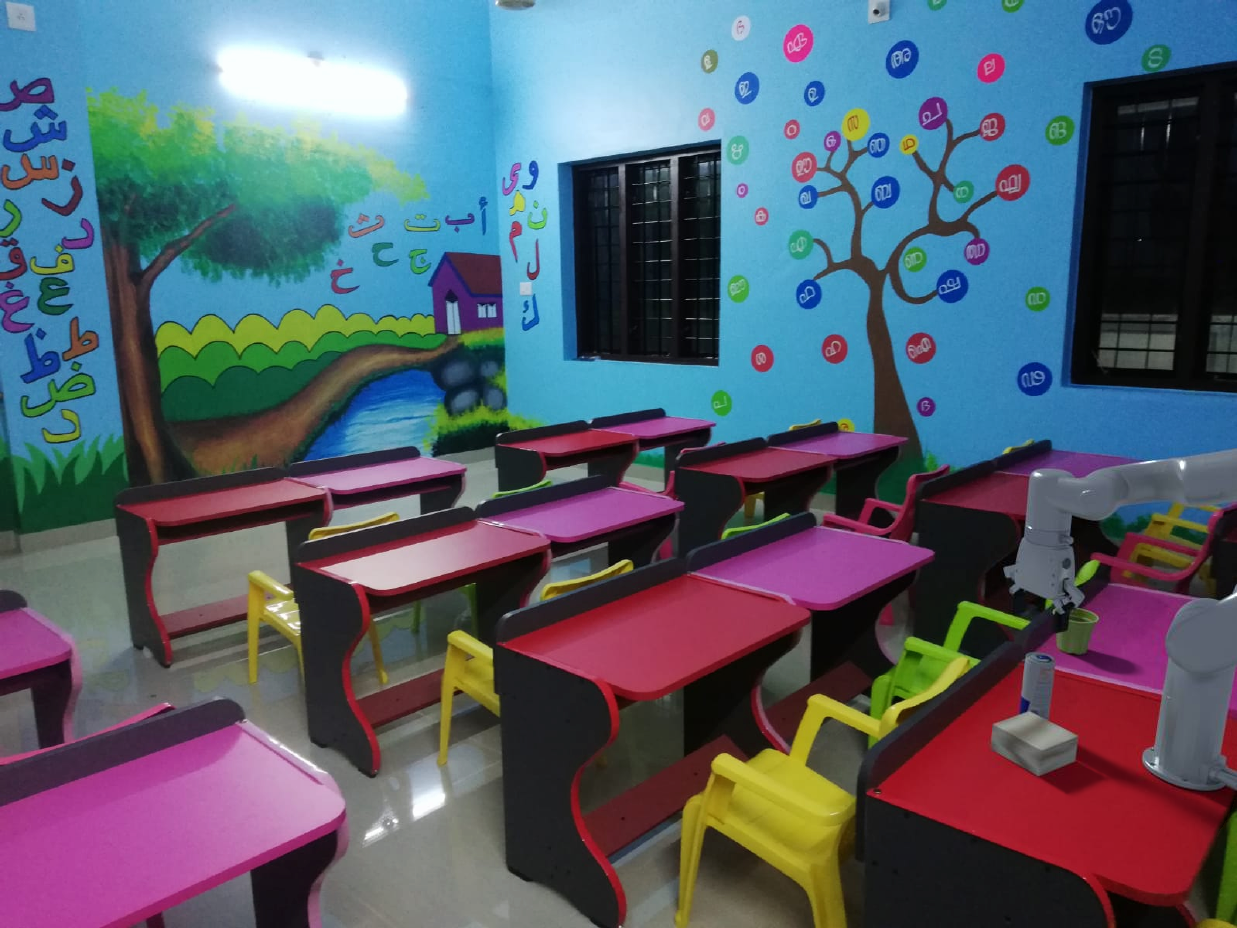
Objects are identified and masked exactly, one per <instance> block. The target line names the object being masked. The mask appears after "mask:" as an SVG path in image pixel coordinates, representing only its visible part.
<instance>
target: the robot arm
mask: <svg viewBox="0 0 1237 928" xmlns="http://www.w3.org/2000/svg"><path fill="white" fill-rule="evenodd" d="M1027 490H1028V492H1027V502H1026V503H1027V504H1026V516H1025V525H1024V534H1023V535H1024V536H1023V537H1022V538H1021V540H1020V543H1019V547H1018V549H1017V550H1018V551H1017V554H1016V560H1015V564H1012V565H1008V566H1004V567H1003V572H1004V575H1005V578H1006V579H1005V582H1006V584H1007V585H1008V587H1009V593H1010V594H1011V604H1010V605H1011V606H1010V614H1012V615H1013V616H1014V615H1019V614H1024V613H1025V612H1026V610H1027V609H1026V608H1027V598H1028V597H1027V594H1028V593H1032V594H1034V595H1037V596H1039V597H1040V598H1043V599H1047V600H1050V601H1052V603H1053V605H1054V607H1055V609H1057V611H1058V612H1055V613H1054V614H1053V623H1052V632H1053V633H1054V634H1057V633H1060V632H1065V631H1067V630H1068V626H1069V616H1070V612H1073V610H1074V609H1076V608H1079V607H1080V604H1082V602H1083V601H1084V599H1085V594H1084V593H1083V592H1082V591H1081V590H1080V589H1079V588H1078V587H1077V586H1076V585H1075V578H1076V577H1075V575H1076V573H1075V571H1076V569H1075V568H1076V567H1075V565H1076V564H1075V554H1074V548H1073V546H1071V545H1072V544H1073V543H1074V538H1073V537H1072V536H1070V535H1071V525H1072V517H1073V516H1075V517H1077V518H1080V519H1084V520H1090V521H1101V520H1104V519H1107V518H1109V517H1110V516H1112V515H1113V514H1114V513H1115V511H1117V510H1118V508H1120V507H1125V506H1132V505H1139V504H1147V503H1157V502H1158V503H1159V502H1169V503H1174V504H1175V503H1176V504H1180V505H1182V506H1185V507H1191V508H1193V507H1194V508H1198V507H1206V506H1214V505H1219V504H1227V503H1233V502H1237V448H1236V447H1235V448H1233V449H1232V448H1231V449H1227V450H1226V449H1225V450H1220V451H1214V452H1208V453H1202V454H1201V453H1200V454H1196V455H1188V456H1181V457H1170V458H1167V459H1166V458H1164V459H1156V460H1147V461H1141V462H1134V463H1128V464H1122V465H1120V464H1119V465H1115V466H1109V467H1104V468H1100V469H1097V470H1094V471H1092V472H1091V473H1089V474H1087V475H1086V476H1083V477H1079V478H1078V477H1075V476H1074V475H1073V473H1071V472H1070V471H1067V470H1064V469H1060V468H1059V469H1057V468H1038V469H1035V470H1034V471H1032V472H1031V474H1030V476H1029V481H1028V489H1027ZM1026 591H1027V592H1028V593H1027V592H1026ZM1070 598H1071V599H1070ZM1165 650H1166V653H1167V655H1168V661H1167V665H1166V671H1165V672H1166V673H1165V676H1164V677H1165V678H1164V683H1163V689H1162V696H1161V702H1160V709H1159V715H1158V721H1157V728H1156V735H1155V742H1154V745H1153V746H1152V747H1148V748H1146V749H1145V750H1143V753H1142V760H1141V761H1142V764H1143V766H1144V767H1145V768H1146V769H1147V770H1148V771H1149V772H1150V773H1152V774H1153V775H1154V776H1155V777H1158V778H1160V779H1162V780H1163V781H1165V782H1167V783H1170V784H1172V785H1175V786H1178V787H1180V788H1185V789H1190V790H1195V791H1216V790H1217V791H1218V790H1220V789H1222V788H1224V787H1225V786H1227V787H1229V788H1231V789H1232V790H1235V791H1237V771H1236V770H1234V769H1231V768H1230V767H1228V765H1226V762H1227V756H1225V755H1223V754H1221V751H1222V745H1223V742H1224V741H1223V740H1224V734H1225V728H1226V723H1227V719H1228V718H1227V716H1228V712H1229V705H1230V700H1231V697H1232V696H1231V695H1232V692H1233V691H1232V690H1233V684H1234V679H1235V675H1236V674H1235V673H1236V668H1237V584H1236V585H1235V587H1234V589H1233V590H1232V593H1231V594H1230V595H1228V596H1226V597H1224V598H1222V599H1221V600H1218V599H1214V598H1208V597H1205V598H1204V597H1201V598H1196V599H1193V600H1191V601H1188V602H1186V603H1185V604H1184V605H1182V606H1181V607H1180V608H1179V609H1178V611H1177V612H1176V614H1175V616H1174V618H1173V619H1172V621H1171V624H1170V627H1169V628H1168V630H1167V633H1166V637H1165Z"/></svg>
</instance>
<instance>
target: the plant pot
mask: <svg viewBox="0 0 1237 928" xmlns="http://www.w3.org/2000/svg"><path fill="white" fill-rule="evenodd" d="M1055 612H1058V611H1057V609H1056V608H1054V609H1053V610H1052V614H1053V615H1054V613H1055ZM1099 620H1100V618H1099V616H1098V615H1097V614H1096V613H1094V612H1092V611H1090V610H1086V609H1083V608H1079V607H1078V608H1076V609H1074V610H1073V612H1070V616H1069V626H1068V630H1067V631H1065V632H1060V633H1056V647H1057V649H1058V650H1059V651H1061V652H1063V653H1066V654H1075V655H1079V656H1081V655H1084V654H1086V653H1087V651H1088V648H1089V644H1090V641H1091V637H1092V635H1093V634H1092V633H1093V631H1094V628H1095V627H1096V624H1097V623H1099Z"/></svg>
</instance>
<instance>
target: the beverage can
mask: <svg viewBox="0 0 1237 928" xmlns="http://www.w3.org/2000/svg"><path fill="white" fill-rule="evenodd" d="M1055 668H1056V659H1055V658H1054V657H1053V656H1051V655H1050V654H1047V653H1043V652H1038V651H1037V652H1035V651H1033V652H1028V653H1026V655H1025V660H1024V669H1023V678H1022V686H1021V694H1020V695H1021V696H1020V703H1019V711H1018V715H1020V714H1023V713H1026V712H1028V711H1030V712H1032V713H1034V714H1036V715H1038V716H1040V717H1042V718H1044V719H1046V720H1048V721H1049V719H1050V710H1051V701H1052V694H1053V693H1052V692H1053V685H1054V677H1055V670H1056V669H1055Z"/></svg>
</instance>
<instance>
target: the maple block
mask: <svg viewBox="0 0 1237 928" xmlns="http://www.w3.org/2000/svg"><path fill="white" fill-rule="evenodd" d="M1078 741H1079V735H1078V734H1075V733H1074V732H1071V731H1070V730H1068V729H1065V728H1063V727H1061V726H1059V725H1058V724H1055V723H1053V722H1051V721H1049V719H1048V720H1046V719H1044V718H1042V717H1040V716H1038V715H1036V714H1034V713H1032V712H1030V711H1028V712H1026V713H1023V714H1020V715H1019V714H1018V715H1015V716H1013V717H1009V718H1006V719H1004V720H1001V721H998V722H995V723H993V724H992V732H991V741H990V750H991V751H994V752H995V753H997V754H999V755H1001V757H1003V758H1006V759H1007V760H1009V761H1010V762H1012V763H1014V764H1016V765H1017V766H1019V767H1022V768H1023V769H1024V770H1027V771H1029V772H1030V773H1031V774H1034V775H1036V776H1037V777H1040V776H1043V775H1045V774H1047V773H1050V772H1053V771H1054V770H1058V769H1060V768H1062V767H1065V766H1067V765H1069V764H1072V763H1074V762H1076V756H1077V749H1078V744H1079V743H1078Z"/></svg>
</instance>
